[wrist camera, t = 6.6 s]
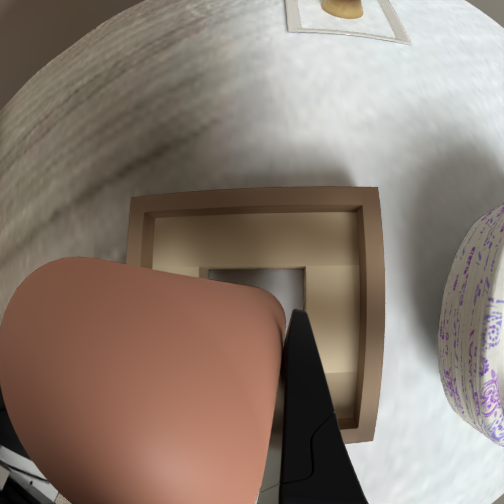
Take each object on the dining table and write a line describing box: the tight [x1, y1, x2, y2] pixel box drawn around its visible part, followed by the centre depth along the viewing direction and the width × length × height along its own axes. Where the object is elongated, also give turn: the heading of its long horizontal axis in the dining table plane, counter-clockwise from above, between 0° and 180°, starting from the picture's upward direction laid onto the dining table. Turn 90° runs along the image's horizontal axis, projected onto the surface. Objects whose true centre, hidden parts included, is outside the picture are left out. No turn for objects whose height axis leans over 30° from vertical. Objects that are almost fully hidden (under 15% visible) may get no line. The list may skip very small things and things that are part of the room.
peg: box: [0, 257, 286, 504], centre depth 9 cm, size 4×4×13 cm
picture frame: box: [126, 186, 385, 444], centre depth 16 cm, size 14×14×4 cm
